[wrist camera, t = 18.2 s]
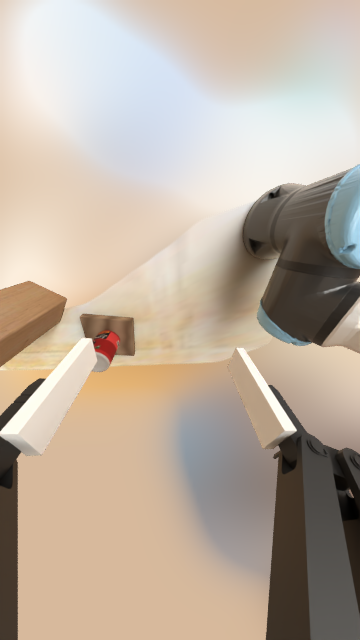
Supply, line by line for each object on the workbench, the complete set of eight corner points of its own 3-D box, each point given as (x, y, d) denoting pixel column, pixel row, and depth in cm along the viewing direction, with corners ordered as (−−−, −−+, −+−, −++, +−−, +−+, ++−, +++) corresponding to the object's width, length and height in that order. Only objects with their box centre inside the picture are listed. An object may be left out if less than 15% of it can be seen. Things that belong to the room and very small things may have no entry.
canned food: (108, 325, 46) (92, 349, 36) (125, 341, 49) (115, 365, 40) (92, 335, 47) (73, 360, 38) (110, 350, 51) (96, 375, 42)
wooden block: (60, 321, 46) (-4, 371, 29) (25, 306, 43) (-72, 353, 26) (68, 298, 42) (-3, 340, 25) (29, 279, 39) (-83, 314, 22)
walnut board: (133, 317, 47) (131, 321, 45) (135, 351, 55) (133, 355, 53) (83, 313, 45) (79, 316, 43) (92, 349, 53) (90, 353, 51)
